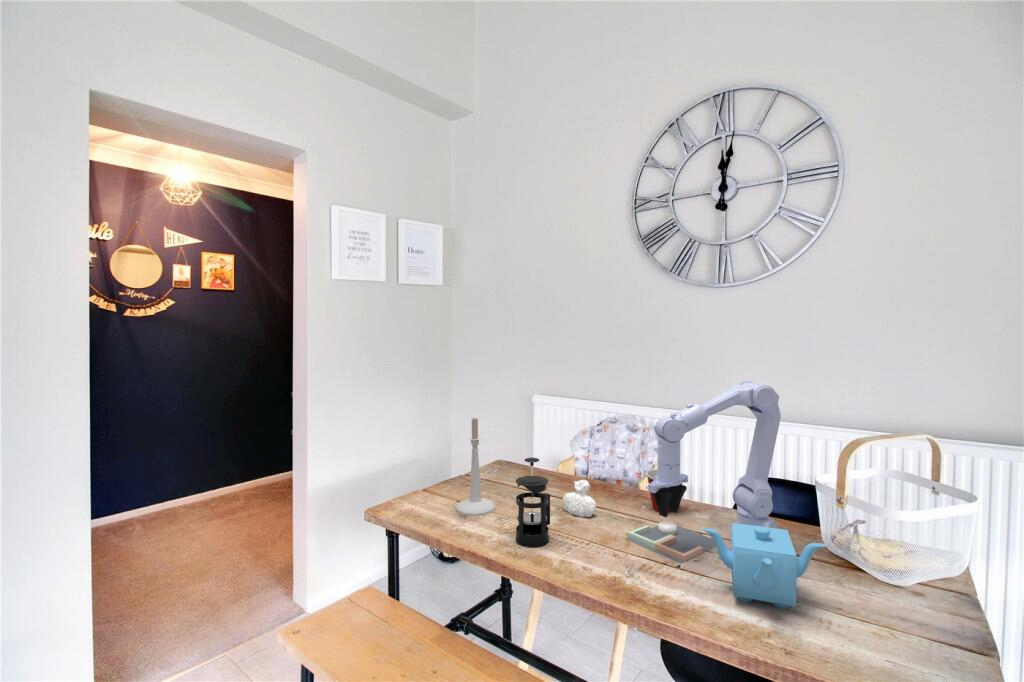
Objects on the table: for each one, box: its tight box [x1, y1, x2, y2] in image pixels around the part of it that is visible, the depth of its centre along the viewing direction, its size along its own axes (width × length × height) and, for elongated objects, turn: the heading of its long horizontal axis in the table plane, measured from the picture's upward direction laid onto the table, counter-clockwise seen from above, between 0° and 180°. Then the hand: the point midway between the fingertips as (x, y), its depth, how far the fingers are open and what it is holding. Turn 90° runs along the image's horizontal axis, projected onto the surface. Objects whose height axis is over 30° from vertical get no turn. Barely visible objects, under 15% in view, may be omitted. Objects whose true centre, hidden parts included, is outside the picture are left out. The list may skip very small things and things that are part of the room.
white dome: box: [657, 521, 678, 536], centre depth 145 cm, size 5×5×2 cm
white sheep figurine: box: [562, 479, 597, 518], centre depth 162 cm, size 12×8×11 cm
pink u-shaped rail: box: [655, 536, 703, 563], centre depth 133 cm, size 9×8×1 cm
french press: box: [515, 457, 551, 549], centre depth 142 cm, size 12×9×23 cm
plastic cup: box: [645, 469, 672, 513], centre depth 162 cm, size 11×11×12 cm
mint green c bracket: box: [627, 524, 673, 549], centre depth 141 cm, size 9×8×1 cm
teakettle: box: [701, 522, 828, 610], centre depth 113 cm, size 19×19×15 cm
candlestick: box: [455, 417, 496, 517], centre depth 166 cm, size 13×13×30 cm
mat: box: [624, 525, 717, 564], centre depth 139 cm, size 18×19×1 cm
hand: (668, 513), depth 134 cm, fingers open, 4 cm apart
